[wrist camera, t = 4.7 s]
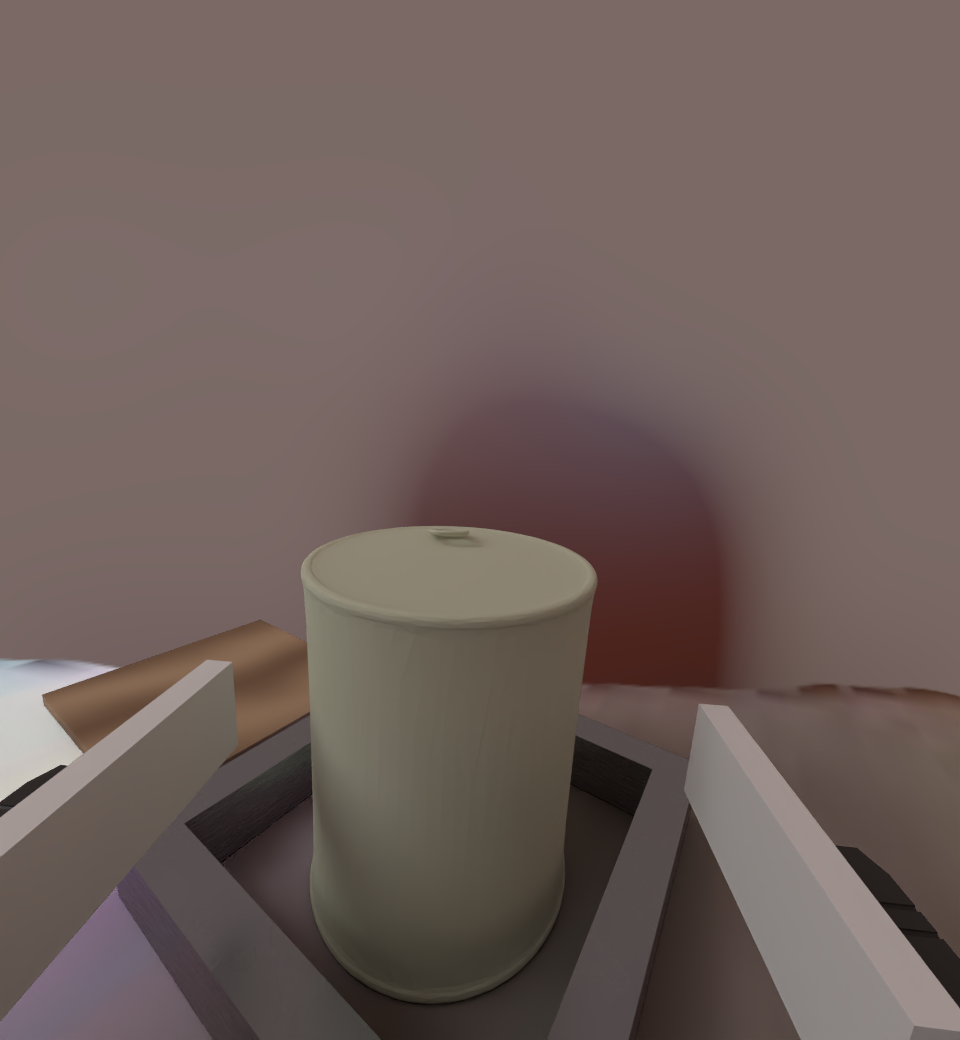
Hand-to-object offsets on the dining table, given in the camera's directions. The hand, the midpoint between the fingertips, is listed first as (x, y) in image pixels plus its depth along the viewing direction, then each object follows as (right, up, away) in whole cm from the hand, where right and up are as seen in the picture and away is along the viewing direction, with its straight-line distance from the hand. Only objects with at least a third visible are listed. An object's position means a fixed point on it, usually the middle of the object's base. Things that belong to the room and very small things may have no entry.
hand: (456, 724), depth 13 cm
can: (-1, -7, +4) cm, 8 cm away
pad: (-14, -4, +13) cm, 19 cm away
